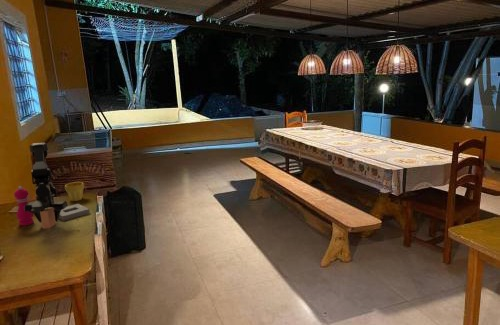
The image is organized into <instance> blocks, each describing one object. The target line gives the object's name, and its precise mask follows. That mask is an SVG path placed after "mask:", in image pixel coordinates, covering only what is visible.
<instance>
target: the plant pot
mask: <svg viewBox="0 0 500 325" xmlns="http://www.w3.org/2000/svg"><path fill="white" fill-rule="evenodd" d="M64 189H65V191H66V193H67V194H68V198H69V200H70V201H71V202H76V201H81V200H83V193H84V189H85V185H84V182H82V181H74V182H70V183H66V184H65V185H64Z"/></svg>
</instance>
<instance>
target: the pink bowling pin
mask: <svg viewBox="0 0 500 325" xmlns="http://www.w3.org/2000/svg"><path fill="white" fill-rule="evenodd" d="M13 195H14V197H15V198H16V203H17V204H18V205H17V206H18V207H17V208H18V209H17V211H16V218H17V220H19V221H18V224H19V226H28V225H31V224H33V223H34V218H33V216H34V214H33V213H31V212H29V211H24V206H25V205H26V204H28V203H29V202H28V200H29V197H28V196H29V191H28V190H27V189H26V188H23V186H21V185H18V188H17V189H16V190H14V194H13Z"/></svg>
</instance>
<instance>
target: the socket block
mask: <svg viewBox="0 0 500 325" xmlns="http://www.w3.org/2000/svg"><path fill="white" fill-rule="evenodd" d="M88 214H90V208H88V207H86V206H84V205H81V204H80V203H75V204H71V205H68V206H67V207H66V208H64V209H62V210H61V212H60V215H59V218H58V220H61V221H63V222H64V221H67V220H71V219H74V218H78V217H82V216H85V215H88ZM54 215H55V213H54Z"/></svg>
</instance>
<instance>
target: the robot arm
mask: <svg viewBox="0 0 500 325" xmlns="http://www.w3.org/2000/svg"><path fill="white" fill-rule="evenodd" d="M28 148H29V152H30V153H31V154H32V157H33V158H34V164H33V165H32V170H31V180H32V185H35V195H36V197H35V199H36V200H35V201H34V202H33V201H32V202H31V201H30V202H28V204H26V205H25V206H24V211H29V212H31V213H33V216H35V218H36V220H37V221H38V222H39V223H41V224H42V221H41V215H40V212H42V211H44V210H45V208H50V207H53V209H54V210H53V212H54V213H55V222H56V223H57V222H59V215H60V212H61V210H62V209H64V208H66V207H67V206H69V204H68V202H67V201H66V200H58V201H57V202H55V198H56V197H58V192H57V188H56V187H55V186H54V183H53V182H52V180H53V178H52V176H53V175H52V171H51V170H50V168H48V164H47V161H46V159H47V156H48V152H49V145H48V143H45V142H36V143H35V142H34V143H32V144H31V145H29V147H28ZM54 197H55V198H54Z"/></svg>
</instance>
